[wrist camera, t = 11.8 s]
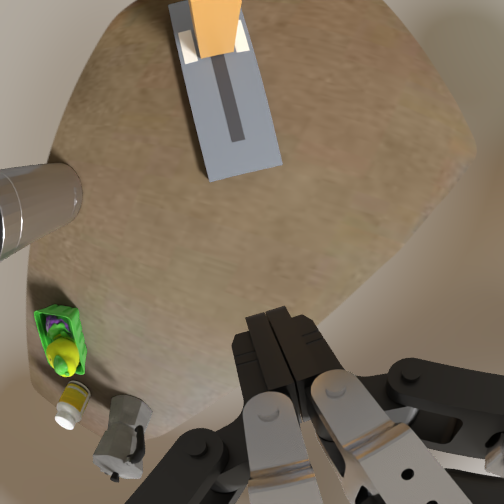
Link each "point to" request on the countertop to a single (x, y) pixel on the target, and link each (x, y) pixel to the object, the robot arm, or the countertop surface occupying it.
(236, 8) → the slider tab
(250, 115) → the switch panel
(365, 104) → the countertop surface
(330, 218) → the countertop surface
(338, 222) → the countertop surface
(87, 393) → the supplement bottle
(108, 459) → the coffeepot
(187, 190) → the countertop surface
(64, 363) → the fruit basket
